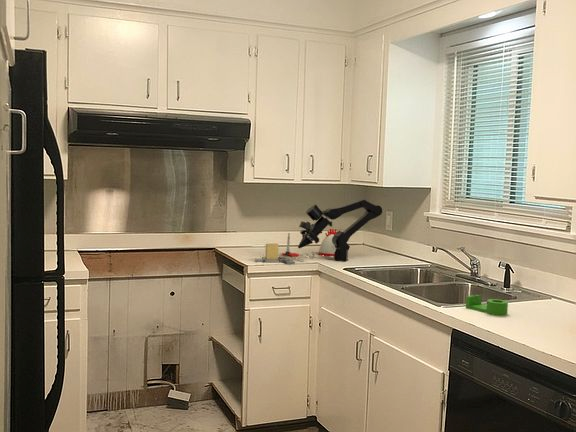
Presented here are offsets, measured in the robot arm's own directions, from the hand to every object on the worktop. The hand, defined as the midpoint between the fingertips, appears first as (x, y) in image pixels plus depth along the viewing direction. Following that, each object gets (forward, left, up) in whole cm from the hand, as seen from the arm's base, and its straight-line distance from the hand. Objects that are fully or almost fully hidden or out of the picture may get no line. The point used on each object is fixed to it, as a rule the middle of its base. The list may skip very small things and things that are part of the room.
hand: (298, 247), depth 333 cm
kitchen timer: (-9, -32, -7) cm, 34 cm away
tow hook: (+10, -18, -7) cm, 22 cm away
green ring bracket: (-99, +76, -8) cm, 125 cm away
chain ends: (+10, +10, -7) cm, 16 cm away
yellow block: (+12, +8, -7) cm, 16 cm away
